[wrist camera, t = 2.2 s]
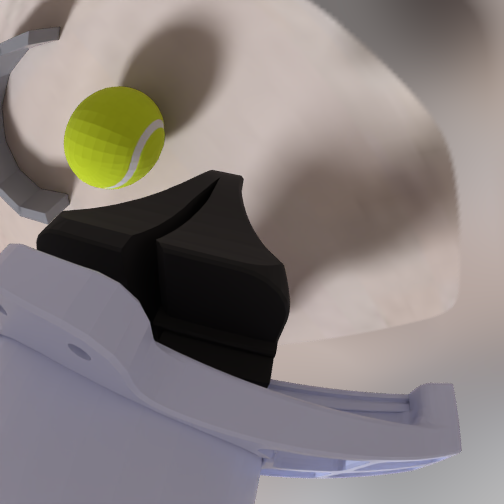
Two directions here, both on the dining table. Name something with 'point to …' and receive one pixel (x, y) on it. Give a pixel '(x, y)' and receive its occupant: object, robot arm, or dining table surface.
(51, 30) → the catch ring
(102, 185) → the tennis ball
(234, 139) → the dining table surface
